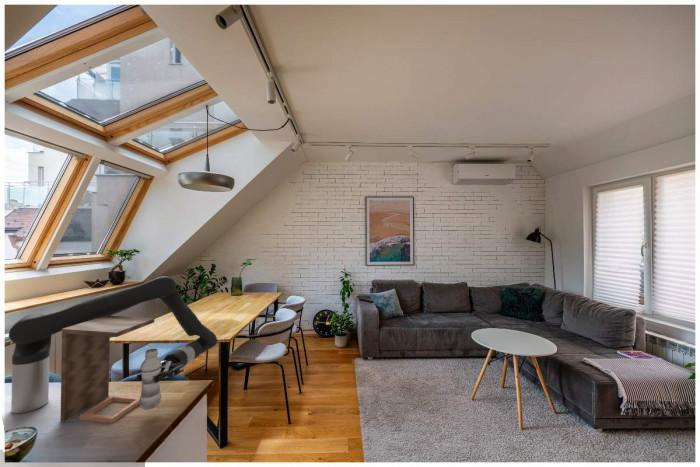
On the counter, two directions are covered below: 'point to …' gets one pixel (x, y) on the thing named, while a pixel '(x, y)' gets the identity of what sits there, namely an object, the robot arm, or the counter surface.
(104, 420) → the square wooden frame
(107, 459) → the counter surface
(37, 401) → the robot arm
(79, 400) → the bracket shelf
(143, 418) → the counter surface
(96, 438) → the counter surface
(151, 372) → the plastic bottle
